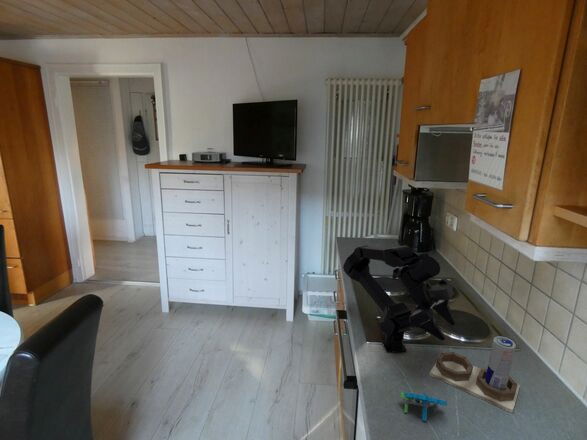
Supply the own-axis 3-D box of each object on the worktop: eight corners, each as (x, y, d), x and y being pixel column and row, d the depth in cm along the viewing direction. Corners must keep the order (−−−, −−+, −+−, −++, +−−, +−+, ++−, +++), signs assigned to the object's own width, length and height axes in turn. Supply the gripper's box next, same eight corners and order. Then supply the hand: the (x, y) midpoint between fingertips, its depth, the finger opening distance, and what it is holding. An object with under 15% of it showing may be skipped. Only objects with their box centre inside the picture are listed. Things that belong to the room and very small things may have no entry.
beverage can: (502, 382, 97) (512, 336, 93) (508, 396, 92) (519, 349, 88) (482, 379, 98) (491, 334, 94) (487, 392, 93) (497, 346, 89)
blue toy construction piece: (447, 400, 90) (445, 397, 82) (447, 426, 88) (445, 425, 80) (404, 391, 95) (398, 387, 87) (402, 415, 93) (396, 413, 85)
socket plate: (429, 374, 101) (430, 365, 100) (441, 355, 109) (443, 346, 108) (512, 413, 88) (514, 402, 87) (519, 388, 96) (521, 377, 95)
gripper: (424, 285, 90) (464, 338, 87) (447, 262, 104) (482, 307, 100) (393, 302, 97) (428, 351, 94) (419, 278, 111) (450, 321, 107)
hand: (449, 332), depth 99 cm, fingers open, 9 cm apart
